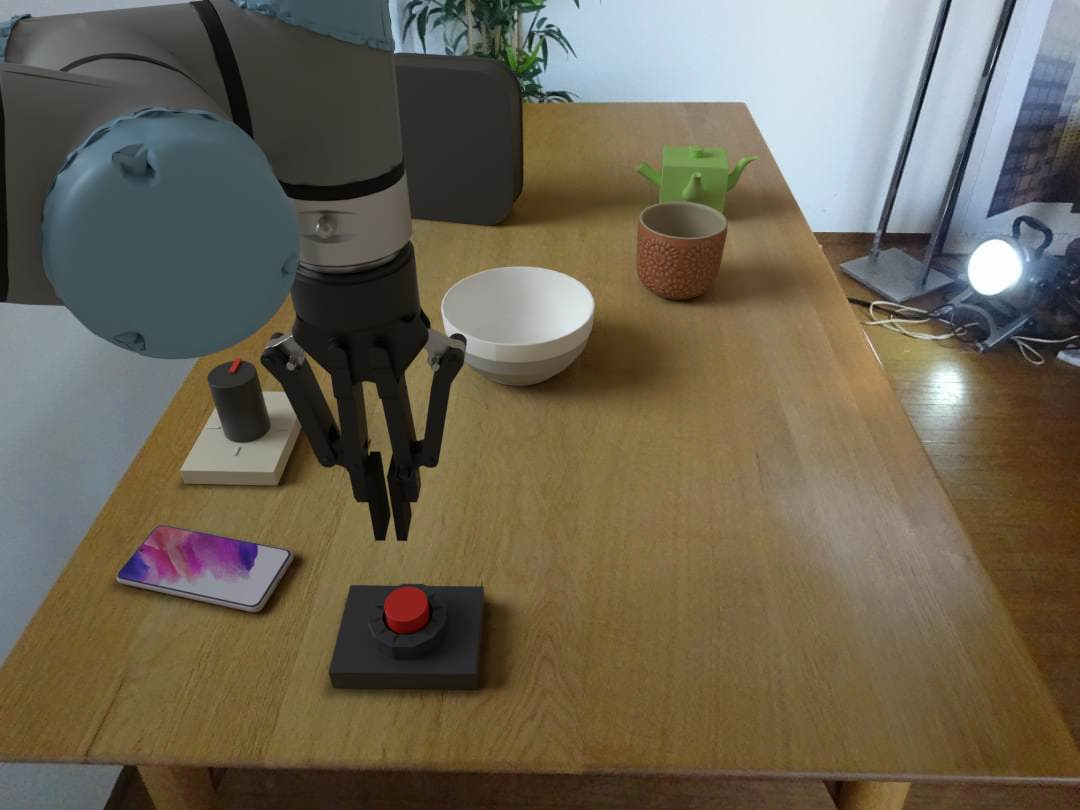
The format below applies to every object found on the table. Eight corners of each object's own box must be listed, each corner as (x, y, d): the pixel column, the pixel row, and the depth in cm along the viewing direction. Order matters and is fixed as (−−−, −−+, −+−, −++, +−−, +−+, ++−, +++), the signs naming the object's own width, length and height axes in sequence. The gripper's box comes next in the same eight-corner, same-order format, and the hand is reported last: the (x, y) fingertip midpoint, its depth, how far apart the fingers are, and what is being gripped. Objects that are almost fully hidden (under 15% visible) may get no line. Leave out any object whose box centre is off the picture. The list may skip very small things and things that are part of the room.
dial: (263, 443, 88) (247, 385, 83) (217, 442, 88) (199, 385, 83) (276, 414, 92) (261, 358, 87) (232, 414, 92) (216, 357, 87)
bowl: (605, 333, 109) (609, 276, 104) (574, 417, 95) (575, 356, 90) (473, 314, 113) (470, 258, 108) (424, 392, 99) (417, 332, 93)
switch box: (332, 688, 67) (324, 659, 64) (353, 600, 74) (347, 571, 71) (477, 689, 67) (474, 660, 64) (484, 601, 74) (482, 572, 71)
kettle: (750, 213, 140) (760, 149, 133) (695, 237, 132) (704, 171, 125) (684, 186, 149) (691, 125, 142) (630, 207, 141) (634, 144, 134)
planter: (708, 316, 113) (719, 245, 106) (623, 300, 116) (628, 230, 109) (724, 275, 122) (735, 207, 115) (644, 262, 125) (650, 195, 119)
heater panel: (277, 485, 86) (273, 470, 84) (184, 484, 86) (179, 469, 85) (311, 405, 97) (307, 390, 95) (228, 403, 97) (224, 389, 96)
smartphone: (257, 610, 72) (111, 578, 75) (260, 616, 72) (114, 584, 75) (295, 549, 77) (158, 521, 80) (297, 555, 78) (160, 527, 81)
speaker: (374, 214, 139) (353, 62, 124) (392, 194, 146) (374, 47, 131) (513, 228, 135) (510, 72, 119) (526, 207, 141) (524, 57, 126)
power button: (383, 634, 67) (380, 621, 65) (390, 599, 69) (387, 586, 68) (426, 634, 66) (425, 621, 65) (432, 599, 69) (430, 586, 68)
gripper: (206, 275, 44) (289, 564, 58) (462, 277, 44) (482, 566, 58) (247, 216, 50) (313, 492, 64) (473, 217, 50) (488, 493, 64)
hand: (393, 527), depth 61 cm, fingers closed
